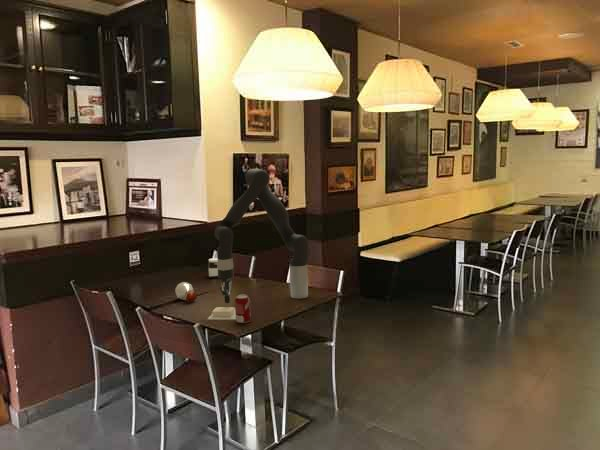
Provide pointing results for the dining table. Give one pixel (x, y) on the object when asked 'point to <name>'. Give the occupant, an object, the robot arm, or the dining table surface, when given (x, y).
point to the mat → (222, 317)
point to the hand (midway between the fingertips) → (227, 302)
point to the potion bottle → (185, 292)
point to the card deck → (223, 311)
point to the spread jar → (213, 268)
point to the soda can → (242, 309)
